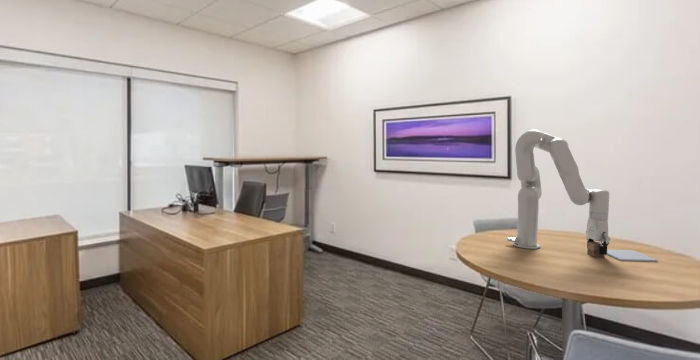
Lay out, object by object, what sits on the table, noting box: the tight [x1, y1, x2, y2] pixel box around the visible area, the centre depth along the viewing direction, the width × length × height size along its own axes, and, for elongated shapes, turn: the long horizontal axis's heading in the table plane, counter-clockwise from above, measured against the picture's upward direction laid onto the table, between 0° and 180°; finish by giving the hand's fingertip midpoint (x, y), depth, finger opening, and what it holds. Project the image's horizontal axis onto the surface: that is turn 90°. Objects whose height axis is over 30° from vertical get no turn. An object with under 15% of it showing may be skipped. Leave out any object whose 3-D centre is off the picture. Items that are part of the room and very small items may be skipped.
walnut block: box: [586, 241, 606, 258], centre depth 174 cm, size 5×5×6 cm
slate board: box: [607, 249, 658, 263], centre depth 173 cm, size 16×16×1 cm
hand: (596, 251), depth 174 cm, fingers open, 9 cm apart
